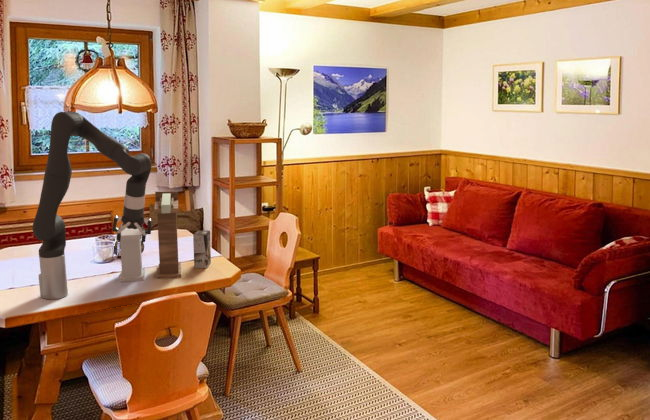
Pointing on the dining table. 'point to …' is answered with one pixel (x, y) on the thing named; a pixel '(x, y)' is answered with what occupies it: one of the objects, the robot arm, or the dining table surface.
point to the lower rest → (131, 256)
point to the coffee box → (202, 249)
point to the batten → (166, 203)
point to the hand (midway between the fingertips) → (130, 241)
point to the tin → (116, 248)
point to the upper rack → (167, 237)
